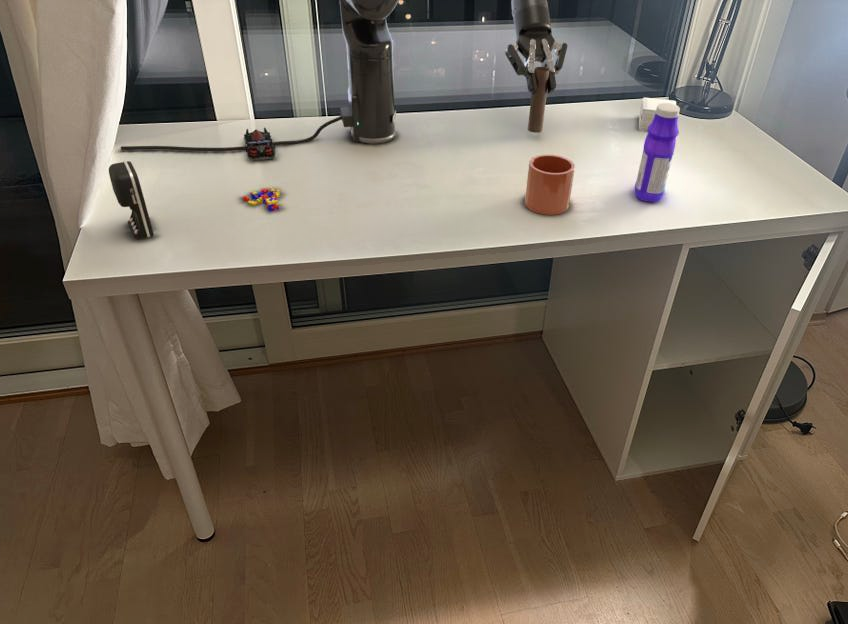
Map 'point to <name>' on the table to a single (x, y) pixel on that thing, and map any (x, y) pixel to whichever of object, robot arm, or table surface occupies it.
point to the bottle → (657, 153)
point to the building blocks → (270, 202)
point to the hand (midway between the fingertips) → (543, 92)
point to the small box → (649, 111)
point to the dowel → (538, 100)
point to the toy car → (259, 145)
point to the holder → (549, 184)
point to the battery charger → (131, 197)
